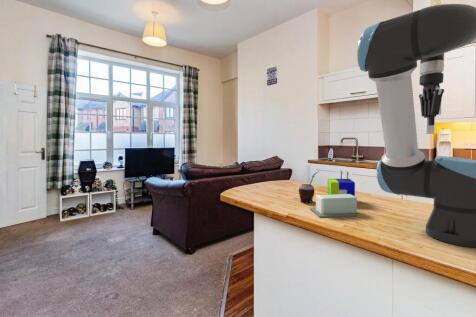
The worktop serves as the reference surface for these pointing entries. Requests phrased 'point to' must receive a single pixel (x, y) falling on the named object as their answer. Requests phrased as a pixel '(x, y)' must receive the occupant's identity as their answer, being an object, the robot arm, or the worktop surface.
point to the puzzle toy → (341, 186)
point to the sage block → (336, 203)
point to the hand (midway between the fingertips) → (429, 133)
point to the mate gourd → (307, 192)
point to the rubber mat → (331, 214)
